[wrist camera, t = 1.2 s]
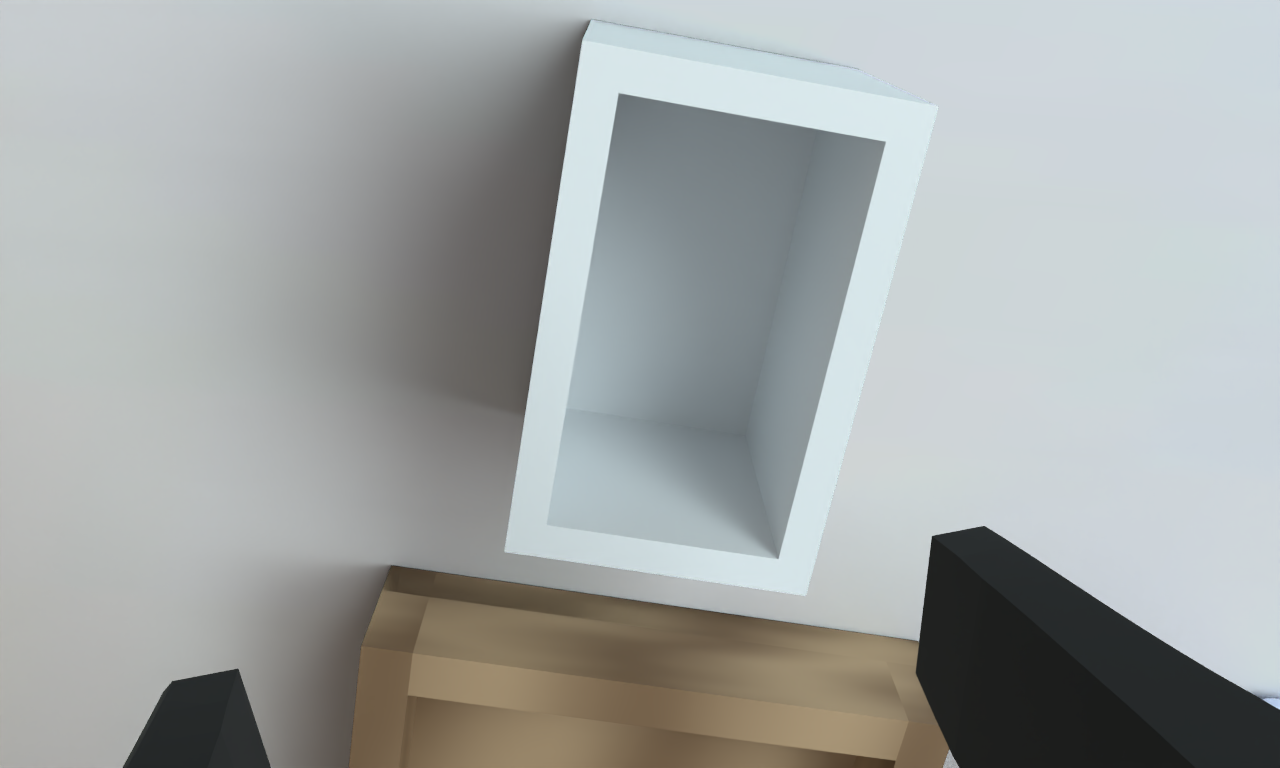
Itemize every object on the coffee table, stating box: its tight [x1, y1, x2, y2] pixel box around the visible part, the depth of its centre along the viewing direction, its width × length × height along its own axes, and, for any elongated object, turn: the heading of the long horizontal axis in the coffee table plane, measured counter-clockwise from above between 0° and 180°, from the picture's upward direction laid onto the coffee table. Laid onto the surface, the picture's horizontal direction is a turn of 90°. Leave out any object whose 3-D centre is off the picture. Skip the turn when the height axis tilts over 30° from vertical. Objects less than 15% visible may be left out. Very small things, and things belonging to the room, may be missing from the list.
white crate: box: [504, 19, 939, 596], centre depth 19 cm, size 5×8×6 cm, turn 170°
